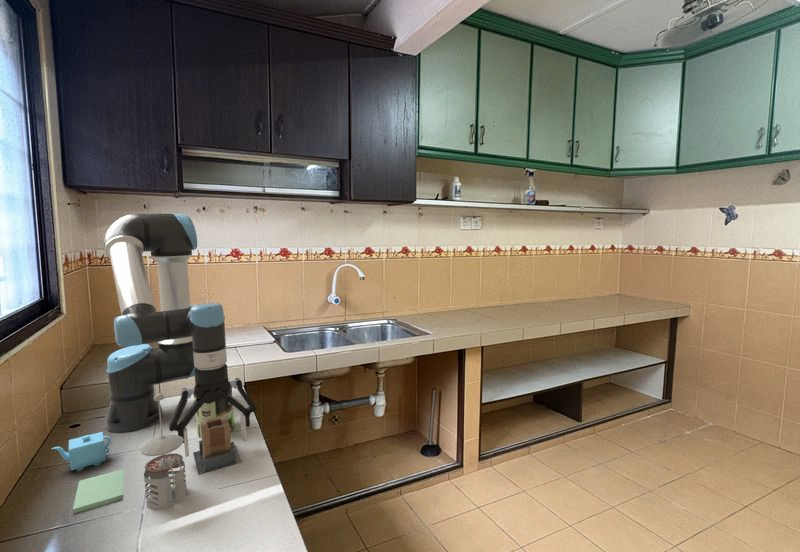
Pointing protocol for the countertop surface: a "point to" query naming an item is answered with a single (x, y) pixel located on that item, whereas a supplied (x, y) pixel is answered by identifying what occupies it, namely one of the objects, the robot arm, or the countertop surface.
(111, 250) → the robot arm
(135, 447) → the countertop surface
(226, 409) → the coffee can
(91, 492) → the board
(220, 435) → the sleeve
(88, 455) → the teapot
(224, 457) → the peg stand
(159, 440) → the french press
